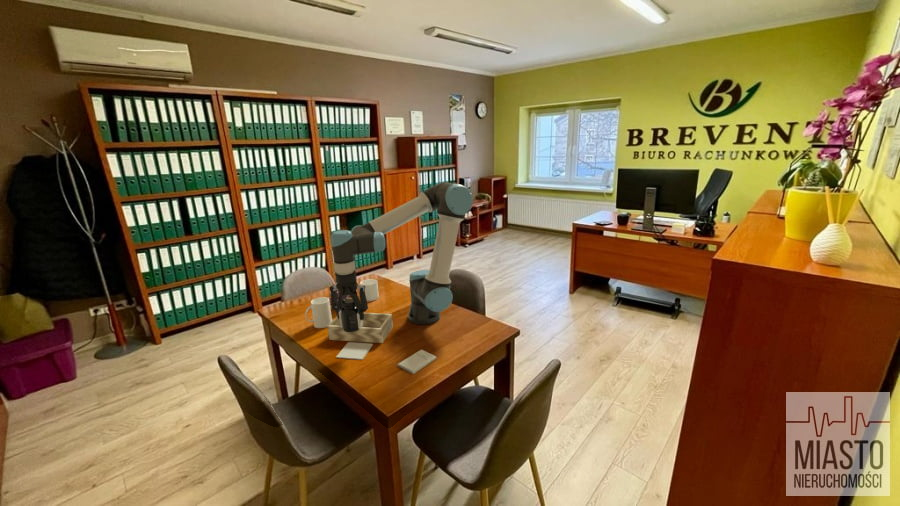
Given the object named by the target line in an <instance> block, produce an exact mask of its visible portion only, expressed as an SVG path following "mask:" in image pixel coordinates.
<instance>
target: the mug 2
mask: <svg viewBox="0 0 900 506" xmlns="http://www.w3.org/2000/svg"><path fill="white" fill-rule="evenodd" d="M359 284H360V285H359V286H365V295H366V300H367V302H373V301H376V300H378V299H379V297H380V294H379V285H378V280H377V279H375V278H368V279H364V280H361V281H360V283H359Z"/></svg>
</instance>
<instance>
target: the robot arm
mask: <svg viewBox="0 0 900 506" xmlns="http://www.w3.org/2000/svg"><path fill="white" fill-rule="evenodd" d="M473 204H474V196H473V193H472V192H471V190H470V189H469V188H468V187H467V186H464V185H463V184H459V183H453V182H452V183H451V182H446V181H445V182H439V183H437V184H435V185H433V186H430V187H429V188H427V189H425V190H423V191H422V192H420V193H419V196H417V197H415V198H413V199H411V200H409V201H407V202H405V203H403V204H402V205H398V206H397V207H396V208H394V209H391V210H390V211H388V212H386V213H384V214H381V215H380V216H379V217H376V218H374V219H373V220H371V221H368V222H366V223H365V224H362V225H355V226H354V227H352V228H351V229H350V230H347V229H344V230H343V229H340V230H335V231H334V232H332V233H331V235H330V240H331V241H330V245H331V251H332V258H333V267H334V272H335V275H334V276H335V282H336V284H332V285H331V286H329V291H330V293H331V297H330V298H331V300H330V301H331V302H330V304H331V305H330V309H331V310H332V311H336V317H337V318H338V319H340V327H343V324H342V316H341V309H342V305H343V301H344V297H345V295H349V296H350V299H353V301H354V303H355V306H356V308H357V310H358V313H357V320H358V329H360V328H361V327H364V326H363V319H364V313H366V311H367V310H369V304H368V301H367V300H366V295H365V286H360V285H359V284H358V282H357V281H358V280H357V271H356V263H355V256H358V255H366V254H372V253H379V252H383V251H385V248H386V238H385V234H388V233H389V232H393V230H396V229H397V228H399V227H401V226H403V225H405V224H407V223H410V222H411V221H412V220H415V219H416V218H418V217H420V216H423V214H425V213H427V212H428V213H432V212H435V211H437V213H436V214H437V216H438V217H439V222H438V227H437V231H436V237H435V242H434V248H433V251H432V258H431V263H430V266H429V269H420V270H415V271H413V272H411V273H410V274H409V279H408V280H409V281H408V282H409V292H410V293H409V294H410V306H409V311H408V315H407V316H408V321H409V322H410V323H413V324H416V325H430V324H433V323H436V322H437V321H439V320H440V318H441V312H443V311H445V310H446V309H448V308H449V307H450V305H451V304H452V303H453V297H454V296H453V292H452V290H450V289H451V285H452V280H451V278H450V272H451V267H452V263H453V259H454V258H453V257H454V253H455V248H456V243H457V240H458V233H459V228H460V224H461V222H462V221H464V220H465V217H466V214H468V213H469V212H470V211H471V209H472V207H473ZM337 289H338V290H339V291H340V293H339V299H338V304H337ZM438 319H439V320H438Z"/></svg>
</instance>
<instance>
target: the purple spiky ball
mask: <svg viewBox="0 0 900 506" xmlns="http://www.w3.org/2000/svg"><path fill="white" fill-rule="evenodd" d="M339 293H340V291H339V290H338V289H337V304H338V299H339ZM328 296H330V297H328V298H329V302H330V306H331V291H330V292H329V293H328ZM346 299H351V297H350V296H349V295H345V297H344V300H346ZM342 308H343V305H342Z"/></svg>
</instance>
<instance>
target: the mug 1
mask: <svg viewBox="0 0 900 506" xmlns="http://www.w3.org/2000/svg"><path fill="white" fill-rule="evenodd" d="M329 298H330V297H326V296H320V297H316V298H313V299H311V300H310V305H309V306H308V308H306V310H305V312H304V317H305V319H306V321H308V322H310V323H313V327H314V328H316V329H324V328H327V326H328V325H329V324H330V323H331V322H332V321H333V318H332V311H331V310H332V309H331V305H330V304H331V302H330V300H329ZM309 310H311V313H312V319H309V318H308V317H307V313H308V312H309Z"/></svg>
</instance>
